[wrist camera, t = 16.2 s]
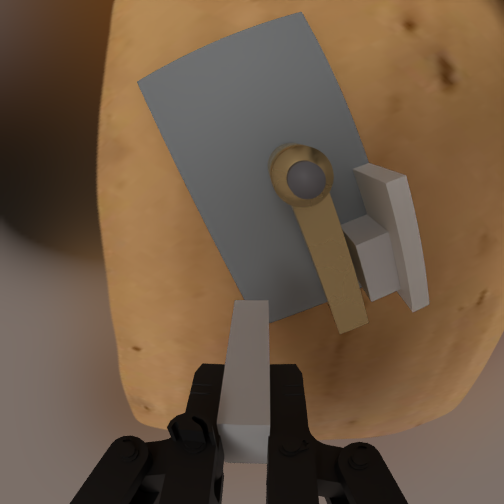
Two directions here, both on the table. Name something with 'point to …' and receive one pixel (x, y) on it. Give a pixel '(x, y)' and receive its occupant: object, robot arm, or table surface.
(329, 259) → the swing bar
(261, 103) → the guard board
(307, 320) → the table surface
